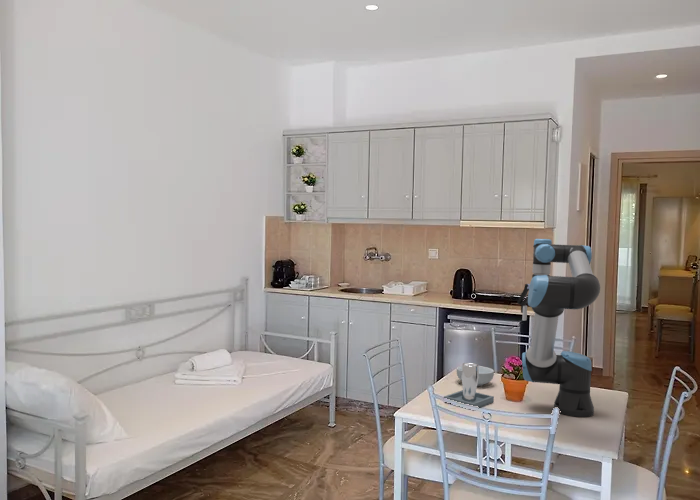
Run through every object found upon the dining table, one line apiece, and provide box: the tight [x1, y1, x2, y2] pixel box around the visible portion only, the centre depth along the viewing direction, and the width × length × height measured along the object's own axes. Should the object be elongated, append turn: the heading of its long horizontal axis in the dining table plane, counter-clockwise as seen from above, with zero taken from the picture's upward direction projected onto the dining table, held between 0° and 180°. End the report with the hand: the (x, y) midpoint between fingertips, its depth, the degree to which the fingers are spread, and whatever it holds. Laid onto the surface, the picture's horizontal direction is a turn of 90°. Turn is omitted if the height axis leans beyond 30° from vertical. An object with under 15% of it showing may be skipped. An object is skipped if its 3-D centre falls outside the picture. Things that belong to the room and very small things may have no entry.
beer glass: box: [461, 362, 480, 403], centre depth 252 cm, size 7×7×15 cm
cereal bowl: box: [456, 365, 495, 387], centre depth 282 cm, size 17×17×7 cm
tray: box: [443, 389, 495, 408], centre depth 252 cm, size 14×16×2 cm
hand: (538, 322), depth 267 cm, fingers open, 13 cm apart
